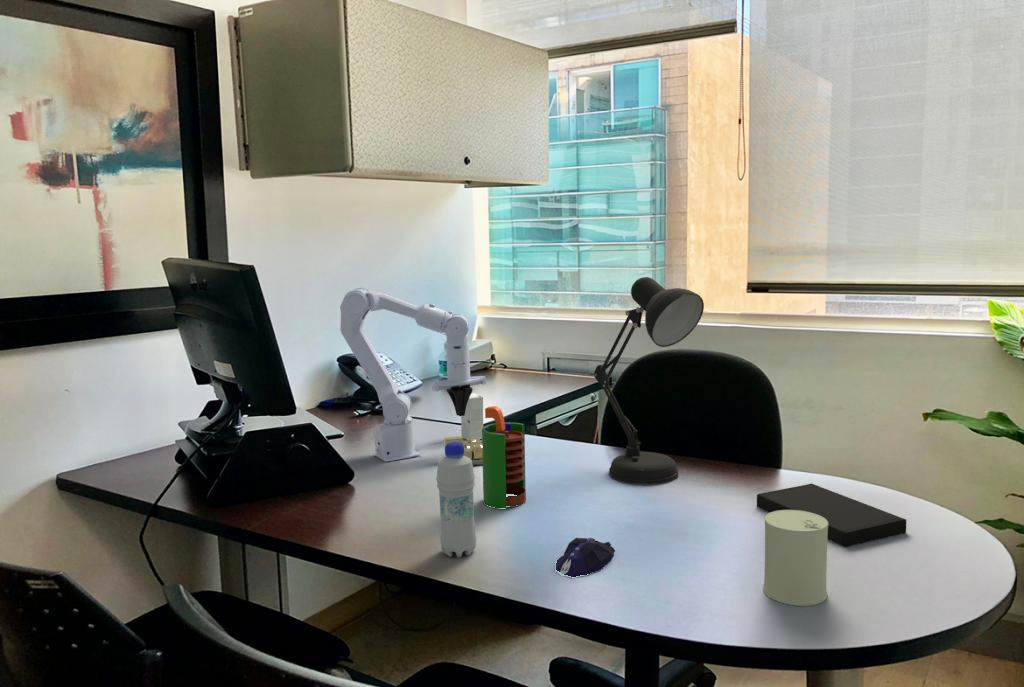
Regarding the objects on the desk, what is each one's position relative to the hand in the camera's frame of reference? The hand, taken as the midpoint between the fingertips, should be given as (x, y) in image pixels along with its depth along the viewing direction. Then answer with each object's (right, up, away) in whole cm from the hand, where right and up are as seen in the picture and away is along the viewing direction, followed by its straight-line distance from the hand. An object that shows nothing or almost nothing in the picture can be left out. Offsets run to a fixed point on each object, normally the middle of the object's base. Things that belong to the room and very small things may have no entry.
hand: (460, 415), depth 204 cm
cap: (+4, -10, -4) cm, 12 cm away
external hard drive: (+73, -16, -52) cm, 91 cm away
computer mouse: (+25, -19, -67) cm, 75 cm away
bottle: (+4, -19, -62) cm, 65 cm away
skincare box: (+2, -8, +16) cm, 18 cm away
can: (+56, -20, -82) cm, 101 cm away
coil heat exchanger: (+12, -15, -36) cm, 41 cm away
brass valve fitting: (+3, -9, -5) cm, 11 cm away
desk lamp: (+43, -12, -22) cm, 50 cm away
